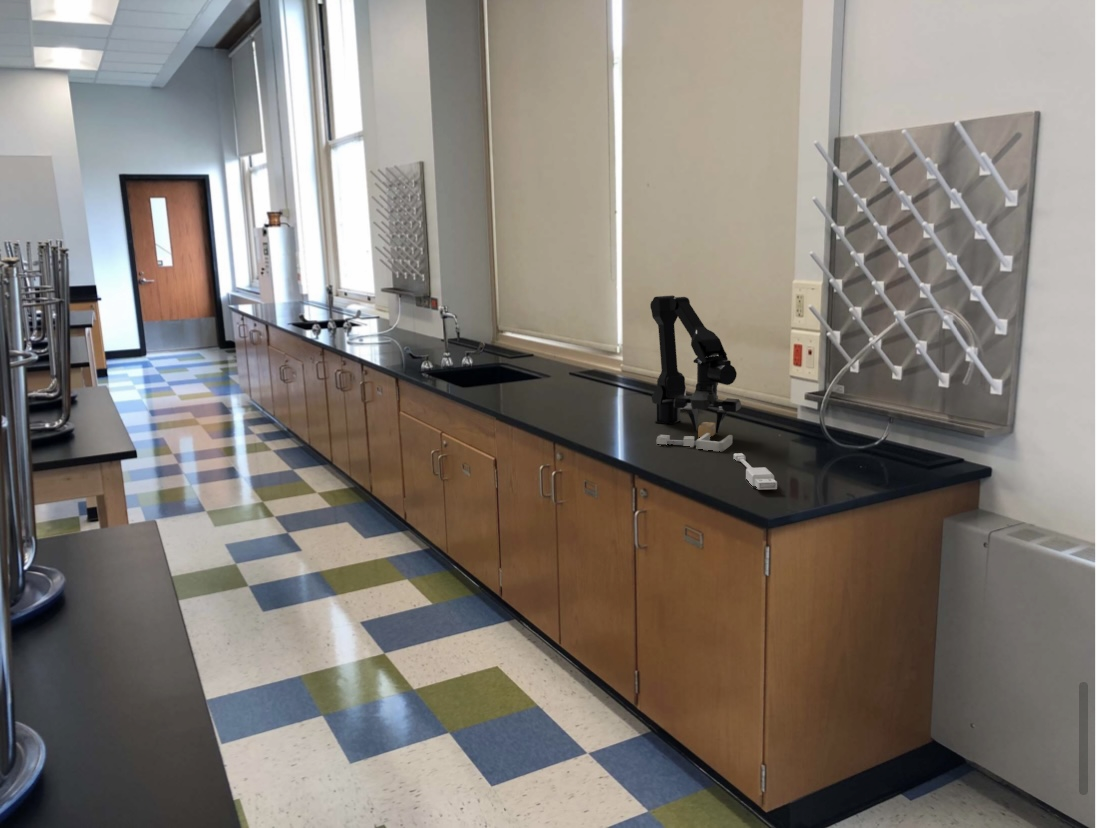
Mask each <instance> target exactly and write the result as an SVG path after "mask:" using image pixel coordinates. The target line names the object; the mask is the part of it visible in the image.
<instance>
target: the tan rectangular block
mask: <svg viewBox="0 0 1097 828" xmlns="http://www.w3.org/2000/svg"><path fill="white" fill-rule="evenodd" d="M706 433H710V437H711V436H712V437H713V436H714V435H716V422H710V421H709V422H707V421H703V422H702V423H701V424H698V429H697V438H699V437H702V436H703V435H705V434H706ZM712 437H711V438H712Z"/></svg>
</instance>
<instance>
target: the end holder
mask: <svg viewBox="0 0 1097 828" xmlns="http://www.w3.org/2000/svg"><path fill="white" fill-rule="evenodd" d="M695 441H696V445H695V450H698V449H703V450H702V451H708V450H713V451H712V452H719V451H720V452H721V453H722V452H724V451H726V449H728V448H729V447H730V446H732V445H733V435H732V434H728V435H727V436H726V437H724V438H723V439H721V440H719V441H715V440H711V438H710V433H706V434H705V435H703V436H702V437H700V438H699V437H698V438H697V439H696V440H695Z"/></svg>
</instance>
